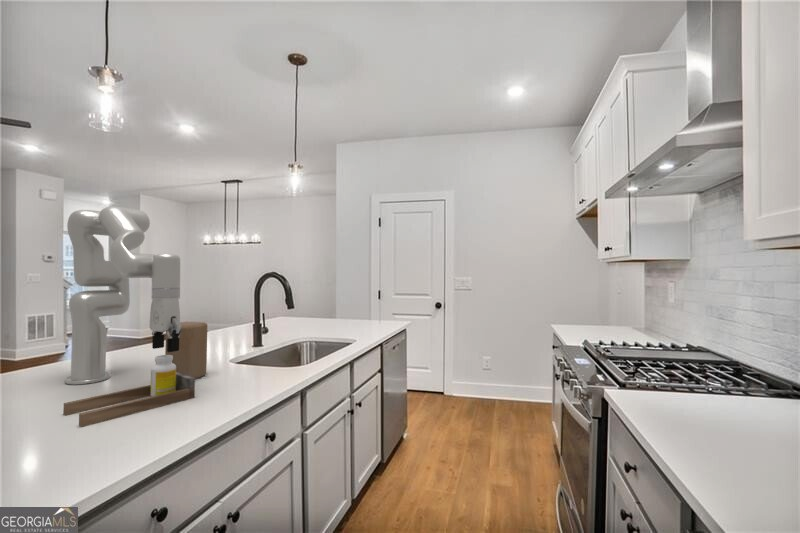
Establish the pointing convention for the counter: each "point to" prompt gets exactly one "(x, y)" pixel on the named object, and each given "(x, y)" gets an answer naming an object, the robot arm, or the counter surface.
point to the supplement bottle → (163, 375)
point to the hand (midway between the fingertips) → (165, 349)
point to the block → (191, 349)
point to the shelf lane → (183, 392)
